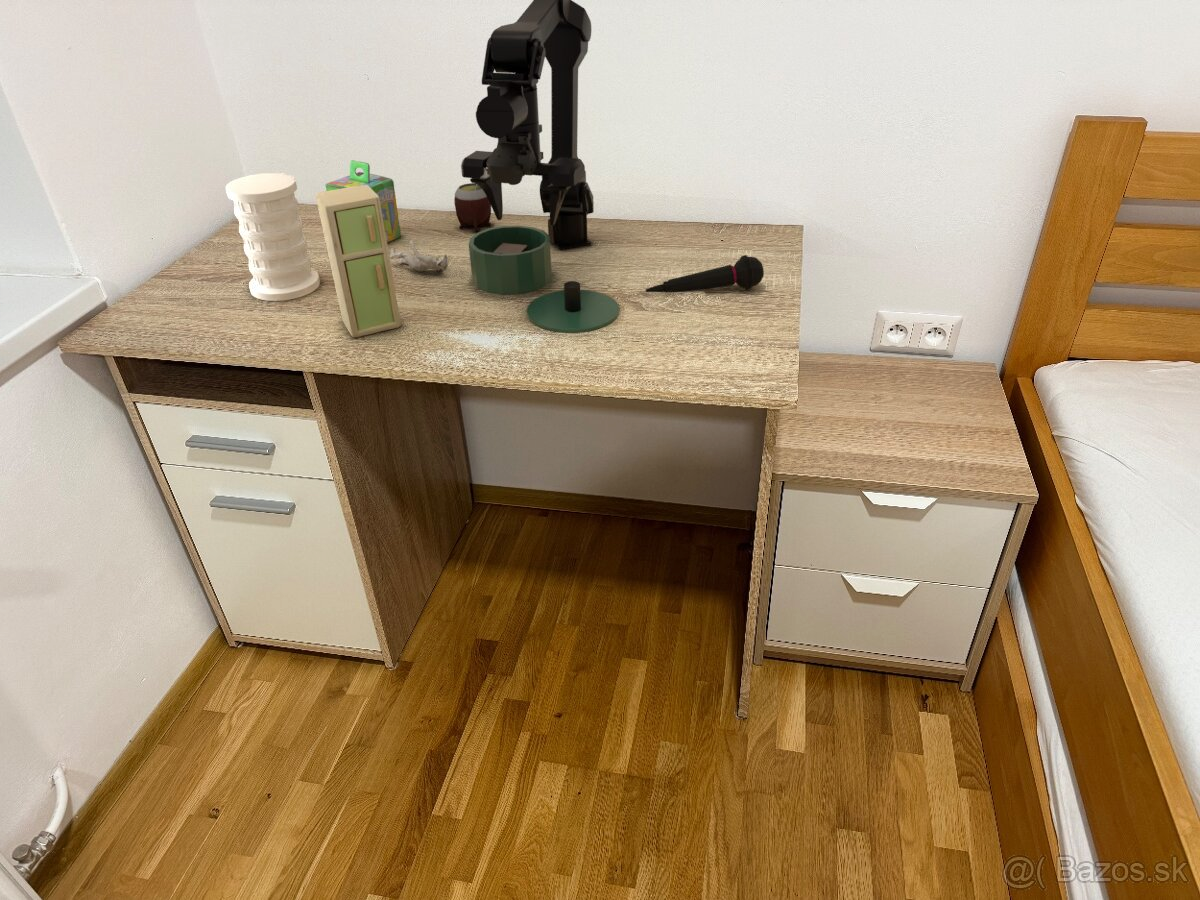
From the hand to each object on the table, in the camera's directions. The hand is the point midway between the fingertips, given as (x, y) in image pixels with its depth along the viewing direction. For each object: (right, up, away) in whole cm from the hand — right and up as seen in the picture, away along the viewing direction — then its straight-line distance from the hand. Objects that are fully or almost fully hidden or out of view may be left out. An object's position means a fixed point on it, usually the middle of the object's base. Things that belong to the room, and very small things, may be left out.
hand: (526, 222), depth 139 cm
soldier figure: (-20, -5, +16) cm, 26 cm away
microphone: (+30, -10, +7) cm, 32 cm away
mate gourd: (-13, +8, +33) cm, 36 cm away
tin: (-3, -7, +11) cm, 14 cm away
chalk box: (-33, +4, +28) cm, 43 cm away
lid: (+8, -15, -1) cm, 16 cm away
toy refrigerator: (-24, -17, -2) cm, 30 cm away
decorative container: (-43, -9, +11) cm, 45 cm away
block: (-3, -7, +11) cm, 13 cm away
